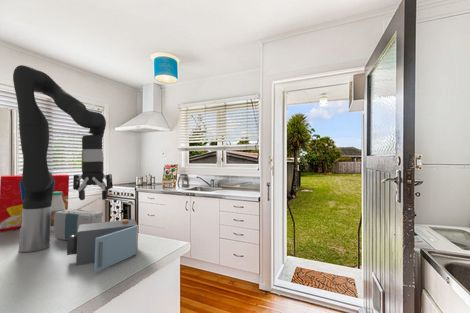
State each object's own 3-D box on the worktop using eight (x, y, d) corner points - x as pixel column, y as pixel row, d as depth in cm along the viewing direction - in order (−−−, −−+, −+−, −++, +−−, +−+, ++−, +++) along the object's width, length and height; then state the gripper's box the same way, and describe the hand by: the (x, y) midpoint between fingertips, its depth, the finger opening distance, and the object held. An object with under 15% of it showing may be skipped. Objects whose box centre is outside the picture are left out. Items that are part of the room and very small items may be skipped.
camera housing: (65, 267, 79) (67, 230, 79) (69, 256, 87) (70, 223, 88) (136, 254, 91) (137, 222, 91) (133, 246, 99) (134, 216, 100)
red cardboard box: (-3, 232, 112) (0, 176, 113) (-1, 228, 118) (1, 175, 119) (67, 223, 132) (69, 175, 132) (65, 220, 137) (67, 174, 138)
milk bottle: (48, 228, 121) (50, 191, 121) (66, 226, 124) (67, 190, 125) (43, 232, 114) (45, 193, 114) (62, 230, 117) (64, 192, 118)
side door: (97, 272, 74) (99, 239, 74) (93, 271, 75) (95, 238, 75) (139, 253, 90) (140, 225, 90) (135, 252, 90) (136, 225, 91)
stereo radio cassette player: (52, 240, 104) (54, 197, 104) (69, 234, 112) (70, 194, 112) (88, 245, 99) (90, 200, 99) (103, 239, 107) (105, 197, 107)
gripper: (68, 160, 87) (69, 202, 88) (106, 160, 89) (107, 201, 89) (79, 160, 95) (80, 198, 95) (114, 159, 96) (115, 197, 97)
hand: (93, 199), depth 92 cm, fingers open, 8 cm apart
